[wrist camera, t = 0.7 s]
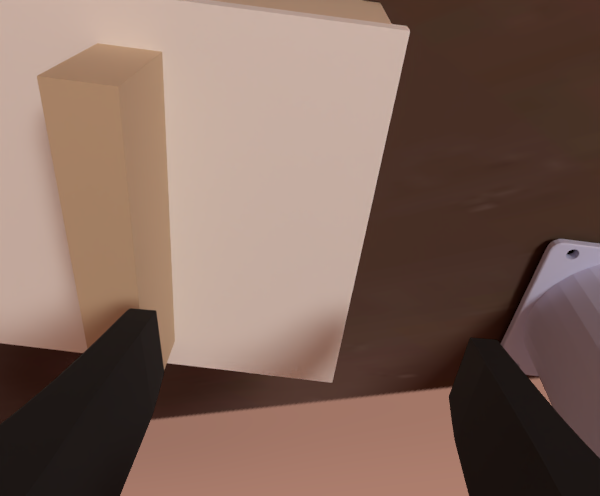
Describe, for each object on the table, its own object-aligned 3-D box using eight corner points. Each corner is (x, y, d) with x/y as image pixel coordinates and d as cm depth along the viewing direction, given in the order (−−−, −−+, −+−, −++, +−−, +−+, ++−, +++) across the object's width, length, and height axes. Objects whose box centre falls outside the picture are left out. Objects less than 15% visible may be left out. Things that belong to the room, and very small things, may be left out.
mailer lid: (407, 26, 12) (431, 62, 9) (332, 370, 19) (331, 455, 16) (-270, -64, 12) (-475, -57, 9) (-95, 319, 19) (-176, 395, 16)
